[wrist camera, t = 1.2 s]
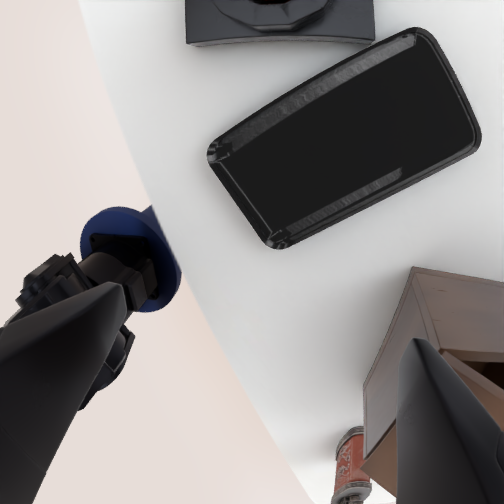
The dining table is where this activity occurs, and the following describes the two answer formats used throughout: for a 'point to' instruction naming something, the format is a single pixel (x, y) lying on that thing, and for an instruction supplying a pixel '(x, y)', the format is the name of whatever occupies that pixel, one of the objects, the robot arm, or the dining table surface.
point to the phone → (347, 139)
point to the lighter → (351, 470)
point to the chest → (435, 338)
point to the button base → (278, 21)
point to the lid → (385, 456)
